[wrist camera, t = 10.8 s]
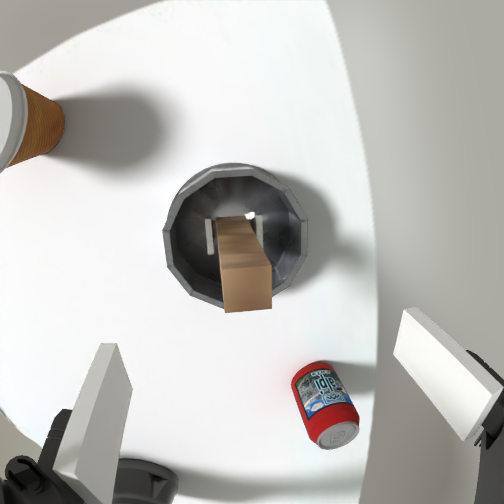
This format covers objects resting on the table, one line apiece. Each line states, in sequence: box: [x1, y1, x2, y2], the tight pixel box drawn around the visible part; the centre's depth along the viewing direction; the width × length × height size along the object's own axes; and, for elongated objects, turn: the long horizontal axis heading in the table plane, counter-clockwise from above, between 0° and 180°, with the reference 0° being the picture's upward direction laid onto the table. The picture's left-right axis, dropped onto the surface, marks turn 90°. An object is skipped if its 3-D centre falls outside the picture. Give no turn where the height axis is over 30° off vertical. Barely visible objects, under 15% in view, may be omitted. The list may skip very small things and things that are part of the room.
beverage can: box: [291, 363, 359, 450], centre depth 36 cm, size 7×7×12 cm
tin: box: [162, 163, 308, 309], centre depth 30 cm, size 14×14×5 cm
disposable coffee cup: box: [0, 71, 65, 173], centre depth 20 cm, size 10×10×12 cm
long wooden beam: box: [216, 216, 272, 313], centre depth 25 cm, size 3×3×14 cm
